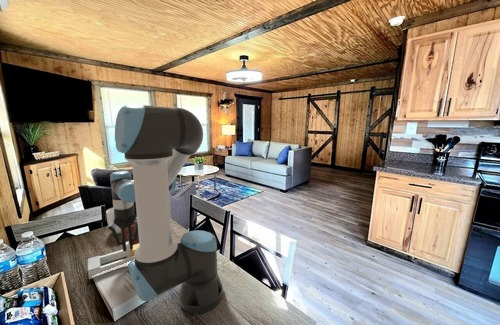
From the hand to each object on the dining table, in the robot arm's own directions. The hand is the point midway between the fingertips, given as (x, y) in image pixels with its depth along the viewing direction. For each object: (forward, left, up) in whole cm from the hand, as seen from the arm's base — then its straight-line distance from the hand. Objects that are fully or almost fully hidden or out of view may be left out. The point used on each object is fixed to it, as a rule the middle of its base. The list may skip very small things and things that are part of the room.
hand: (128, 256), depth 94 cm
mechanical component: (+13, -4, -2) cm, 14 cm away
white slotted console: (0, +4, -2) cm, 4 cm away
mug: (+33, 0, -2) cm, 33 cm away
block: (0, -3, -2) cm, 4 cm away
